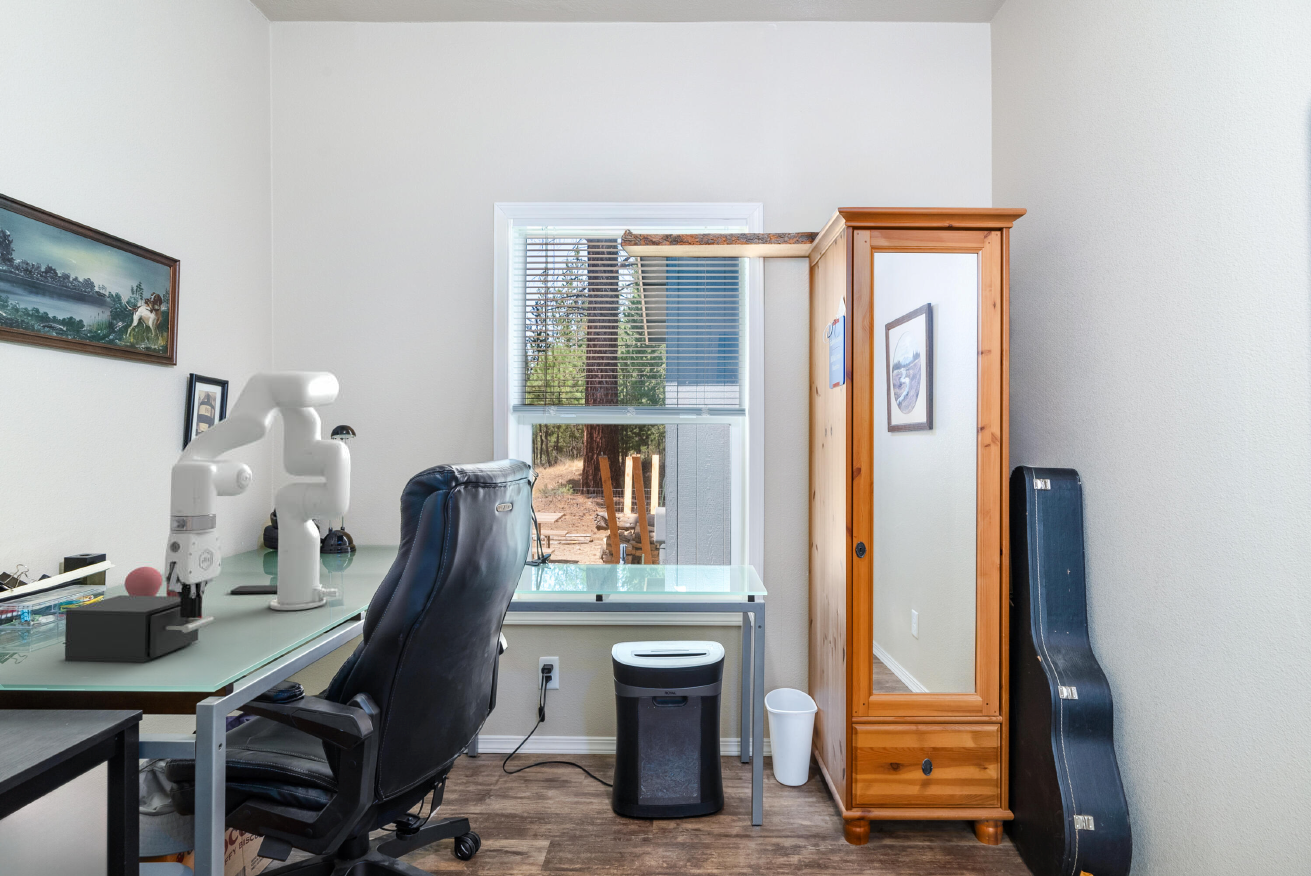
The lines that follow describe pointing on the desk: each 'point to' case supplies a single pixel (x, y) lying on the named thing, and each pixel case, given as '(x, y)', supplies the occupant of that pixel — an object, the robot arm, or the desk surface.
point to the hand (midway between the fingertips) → (190, 616)
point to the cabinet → (113, 628)
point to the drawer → (172, 630)
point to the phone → (255, 589)
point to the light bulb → (143, 582)
